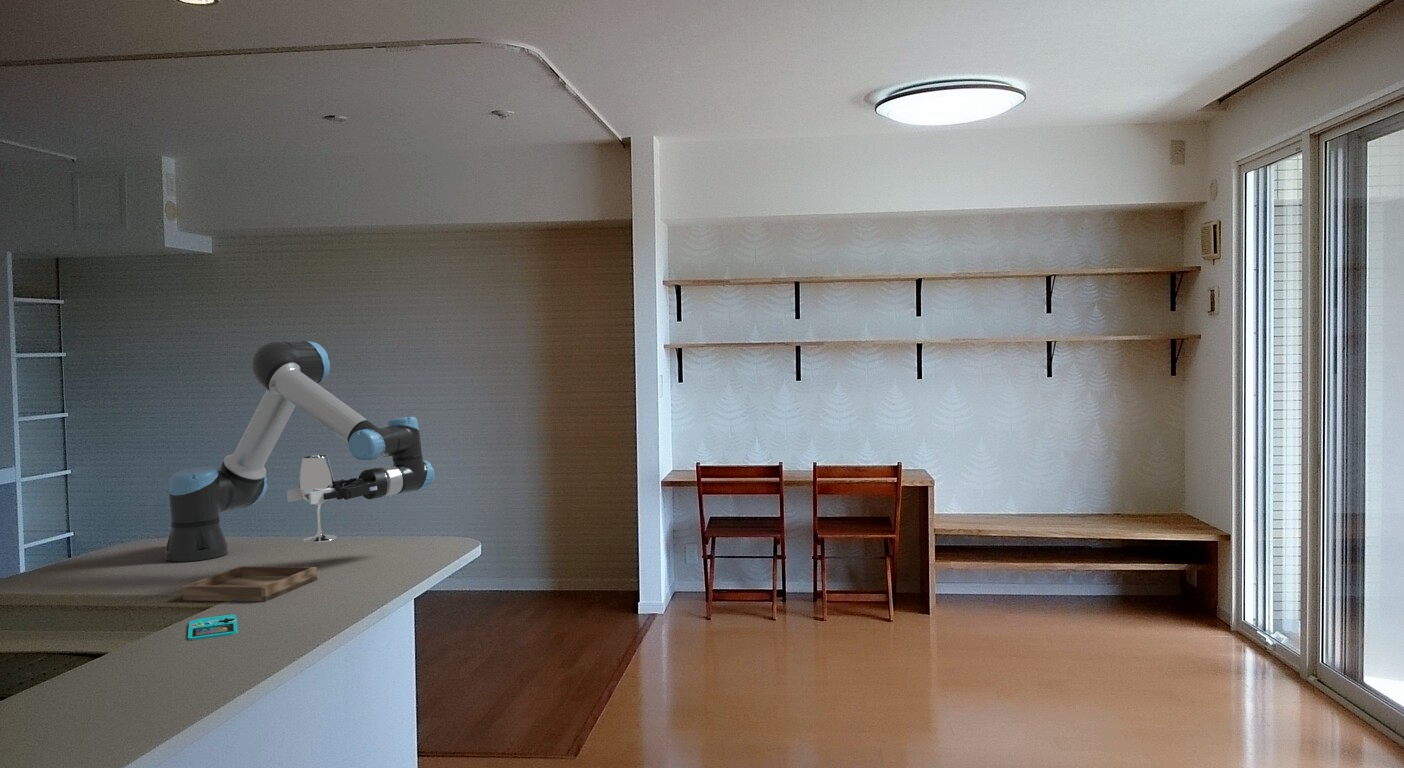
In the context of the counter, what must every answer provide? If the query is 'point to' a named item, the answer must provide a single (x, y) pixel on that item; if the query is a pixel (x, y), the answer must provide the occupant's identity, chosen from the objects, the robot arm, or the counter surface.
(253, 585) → the walnut tray
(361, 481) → the robot arm
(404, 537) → the counter surface
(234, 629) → the handheld gaming console
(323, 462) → the wineglass
